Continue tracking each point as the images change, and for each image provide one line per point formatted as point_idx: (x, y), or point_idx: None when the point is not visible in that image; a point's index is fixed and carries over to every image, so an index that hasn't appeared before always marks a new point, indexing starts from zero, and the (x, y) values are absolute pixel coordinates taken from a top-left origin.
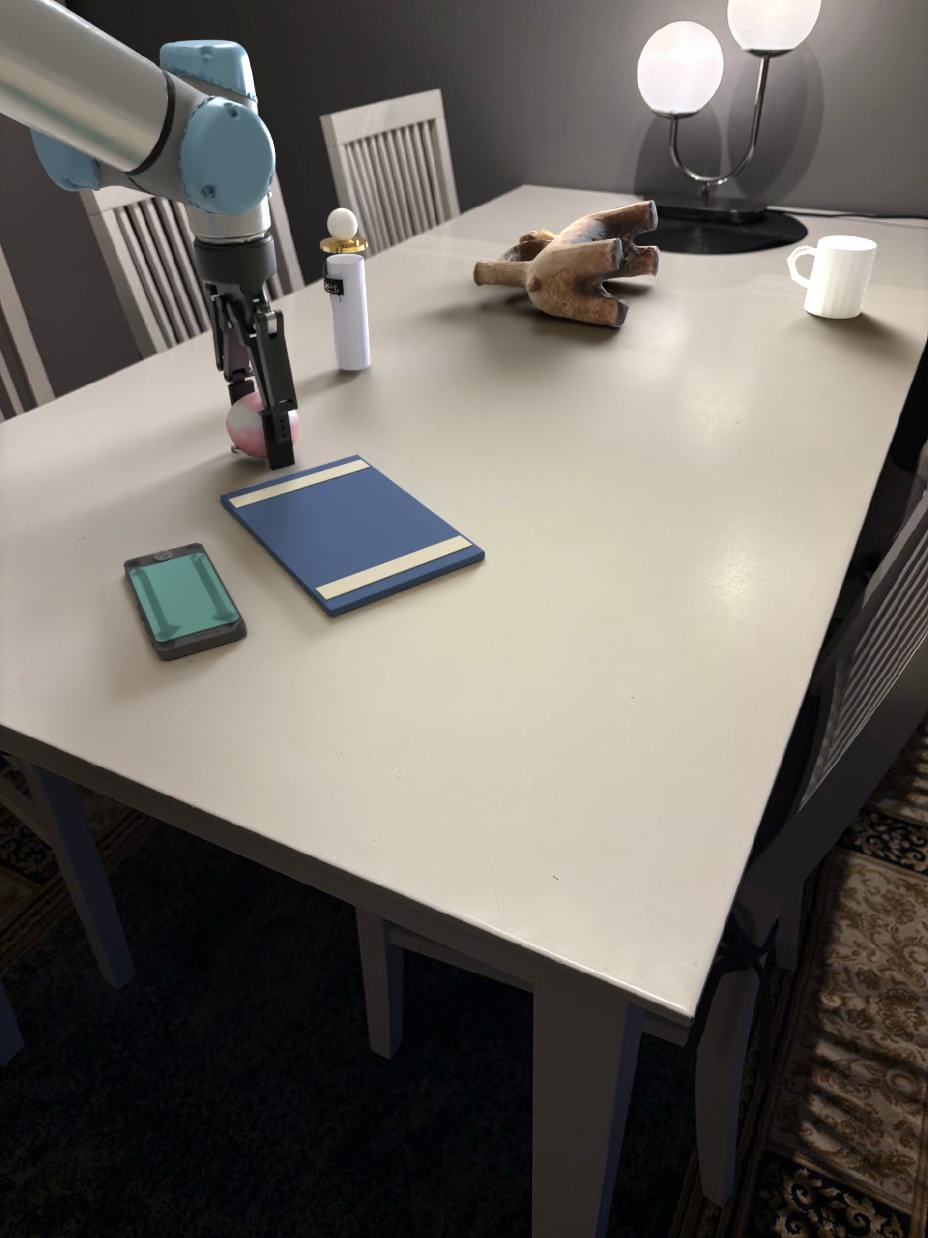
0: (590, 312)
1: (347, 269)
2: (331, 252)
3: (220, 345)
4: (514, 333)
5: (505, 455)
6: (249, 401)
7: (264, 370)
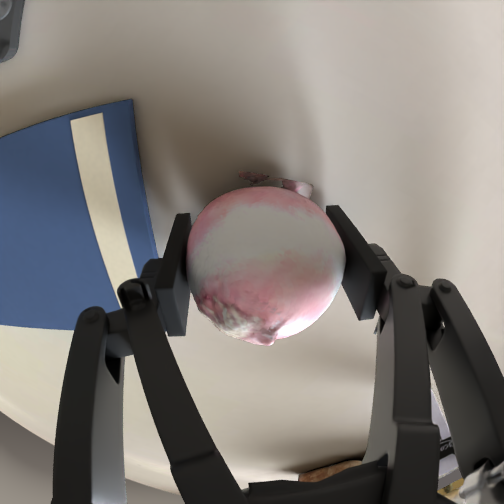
0: (315, 476)
1: None
2: (448, 485)
3: (455, 340)
4: (345, 449)
5: (133, 406)
6: (258, 284)
7: (82, 404)
